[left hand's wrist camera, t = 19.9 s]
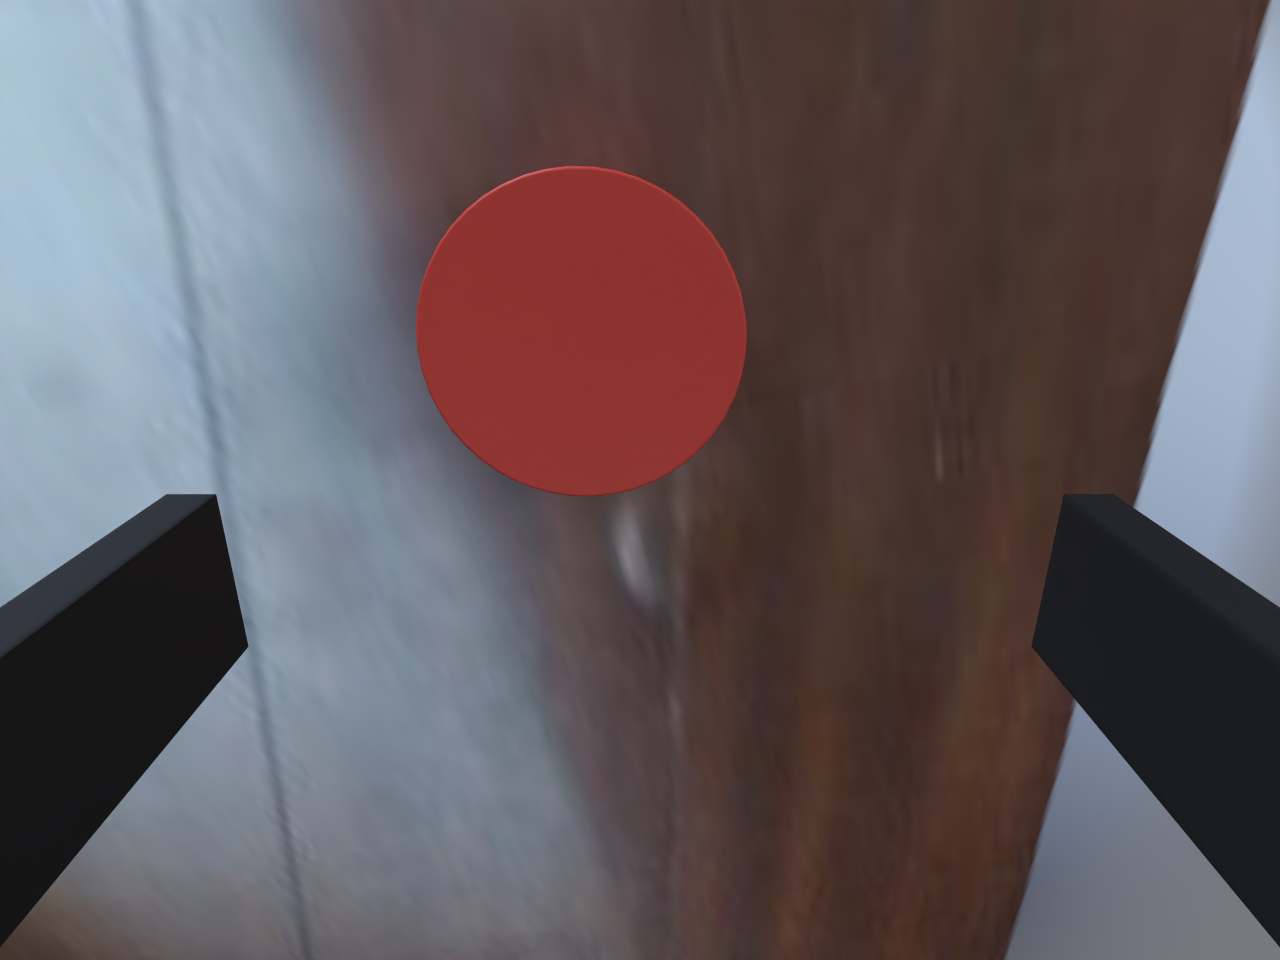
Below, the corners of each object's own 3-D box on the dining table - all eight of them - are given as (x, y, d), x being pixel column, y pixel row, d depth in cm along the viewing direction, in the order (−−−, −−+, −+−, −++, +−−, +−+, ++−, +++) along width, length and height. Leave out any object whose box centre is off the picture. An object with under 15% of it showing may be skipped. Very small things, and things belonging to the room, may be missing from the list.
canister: (767, 249, 28) (810, 271, 21) (647, 464, 31) (650, 546, 24) (533, 118, 26) (496, 96, 19) (430, 357, 29) (366, 411, 22)
